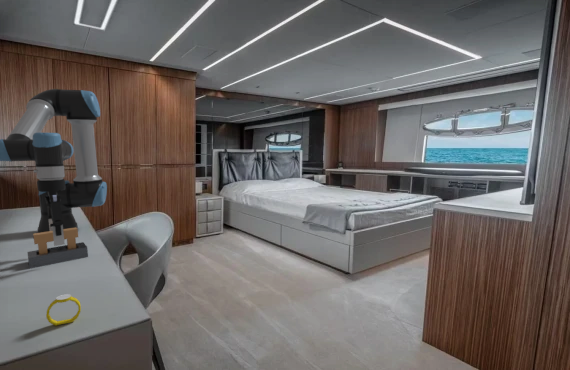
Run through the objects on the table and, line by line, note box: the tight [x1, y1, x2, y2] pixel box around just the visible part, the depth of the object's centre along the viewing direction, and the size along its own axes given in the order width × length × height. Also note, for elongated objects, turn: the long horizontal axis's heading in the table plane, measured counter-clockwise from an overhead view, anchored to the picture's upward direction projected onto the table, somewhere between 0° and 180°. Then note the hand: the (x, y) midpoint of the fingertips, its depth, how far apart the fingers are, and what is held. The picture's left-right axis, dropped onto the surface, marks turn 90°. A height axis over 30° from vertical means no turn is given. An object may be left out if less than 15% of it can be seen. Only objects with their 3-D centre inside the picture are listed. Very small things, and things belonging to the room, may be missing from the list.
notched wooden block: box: [32, 227, 79, 255], centre depth 105 cm, size 12×3×10 cm, turn 132°
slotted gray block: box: [27, 241, 89, 269], centre depth 106 cm, size 16×8×4 cm, turn 132°
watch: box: [45, 293, 82, 326], centre depth 66 cm, size 6×3×6 cm, turn 122°
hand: (57, 240), depth 105 cm, fingers open, 13 cm apart
